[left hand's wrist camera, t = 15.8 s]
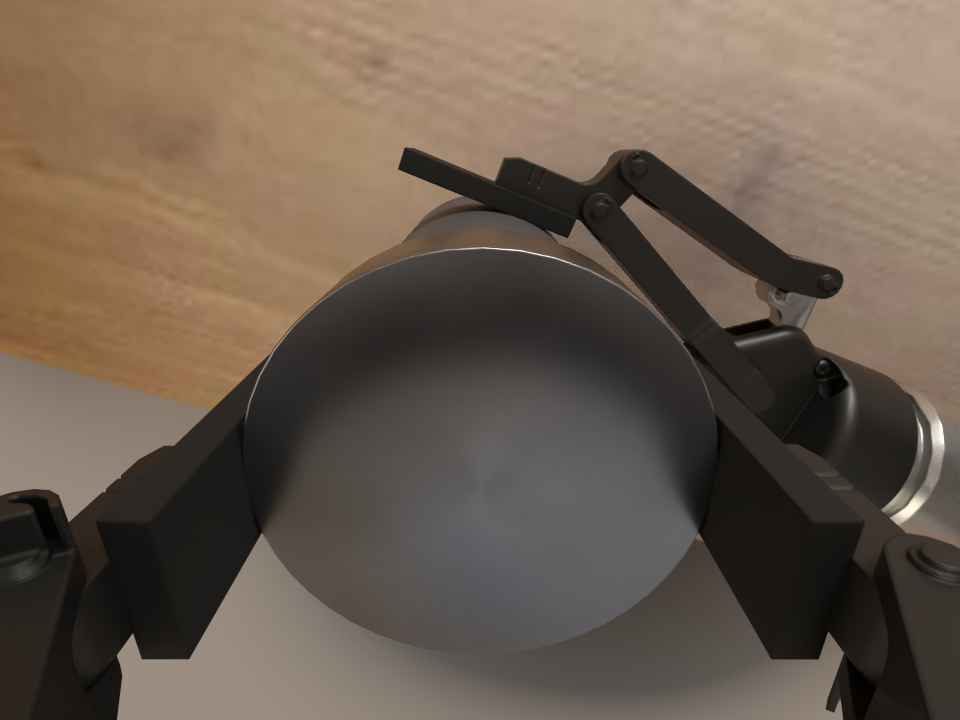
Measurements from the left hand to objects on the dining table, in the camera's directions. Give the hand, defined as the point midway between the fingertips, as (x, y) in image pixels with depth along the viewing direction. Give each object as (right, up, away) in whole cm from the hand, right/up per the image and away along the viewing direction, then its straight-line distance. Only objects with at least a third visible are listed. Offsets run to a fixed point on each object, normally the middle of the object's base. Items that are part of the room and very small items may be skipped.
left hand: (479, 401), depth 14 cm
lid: (0, -1, -3) cm, 3 cm away
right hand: (-4, +5, +7) cm, 9 cm away
